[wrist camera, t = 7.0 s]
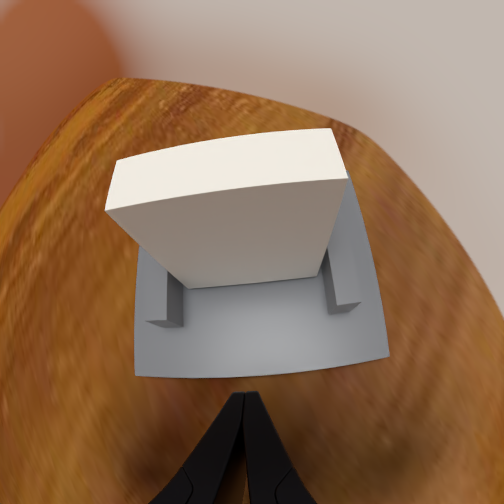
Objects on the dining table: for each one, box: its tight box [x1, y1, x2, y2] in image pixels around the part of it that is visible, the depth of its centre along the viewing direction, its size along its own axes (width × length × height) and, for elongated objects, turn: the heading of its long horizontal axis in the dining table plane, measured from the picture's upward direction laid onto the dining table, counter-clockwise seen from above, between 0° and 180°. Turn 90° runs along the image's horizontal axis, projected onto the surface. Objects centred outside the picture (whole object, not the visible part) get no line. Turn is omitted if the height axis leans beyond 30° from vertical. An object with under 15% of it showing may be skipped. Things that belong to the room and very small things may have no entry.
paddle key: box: [105, 128, 348, 289], centre depth 11 cm, size 2×7×8 cm, turn 94°
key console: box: [134, 171, 390, 378], centre depth 14 cm, size 12×14×6 cm
